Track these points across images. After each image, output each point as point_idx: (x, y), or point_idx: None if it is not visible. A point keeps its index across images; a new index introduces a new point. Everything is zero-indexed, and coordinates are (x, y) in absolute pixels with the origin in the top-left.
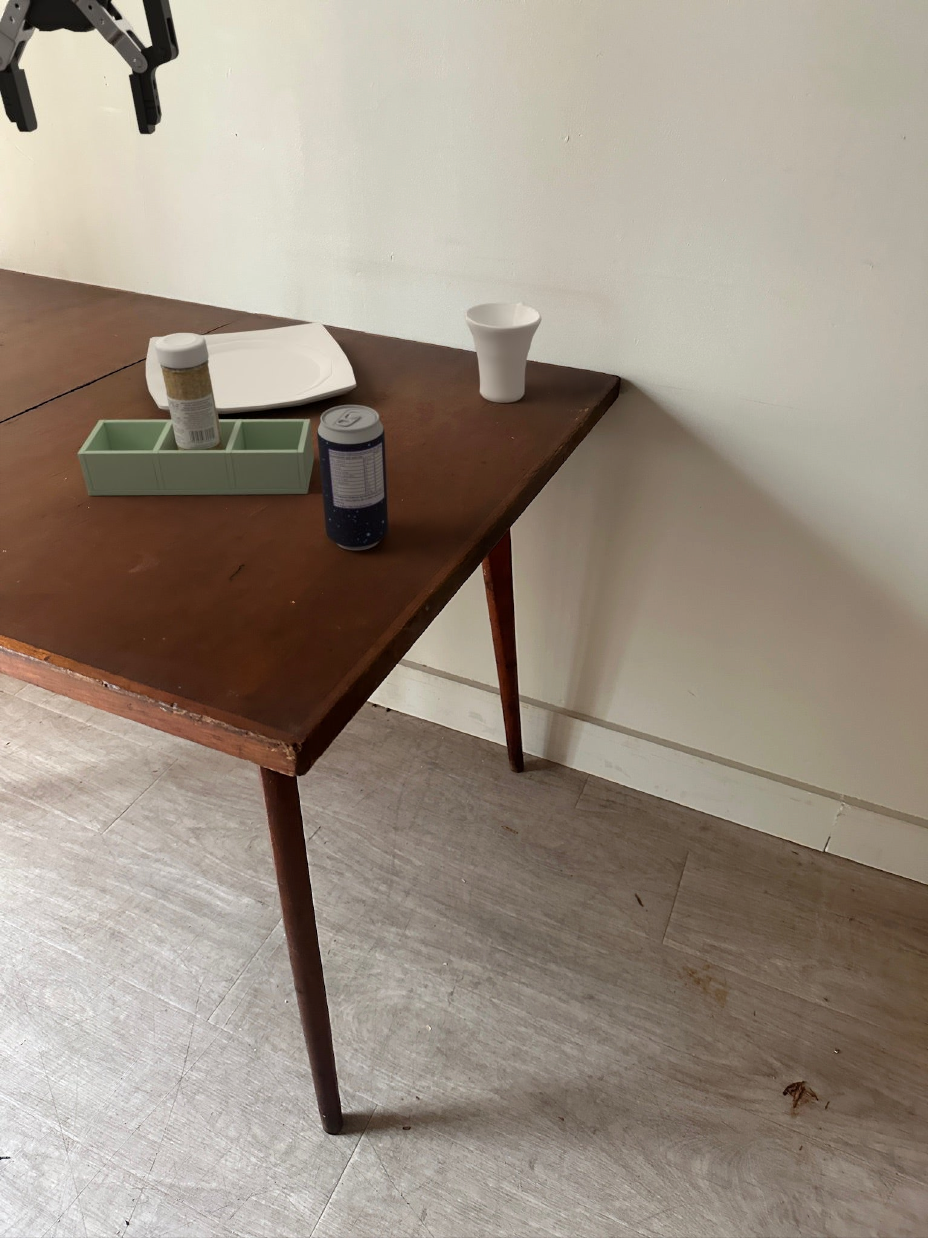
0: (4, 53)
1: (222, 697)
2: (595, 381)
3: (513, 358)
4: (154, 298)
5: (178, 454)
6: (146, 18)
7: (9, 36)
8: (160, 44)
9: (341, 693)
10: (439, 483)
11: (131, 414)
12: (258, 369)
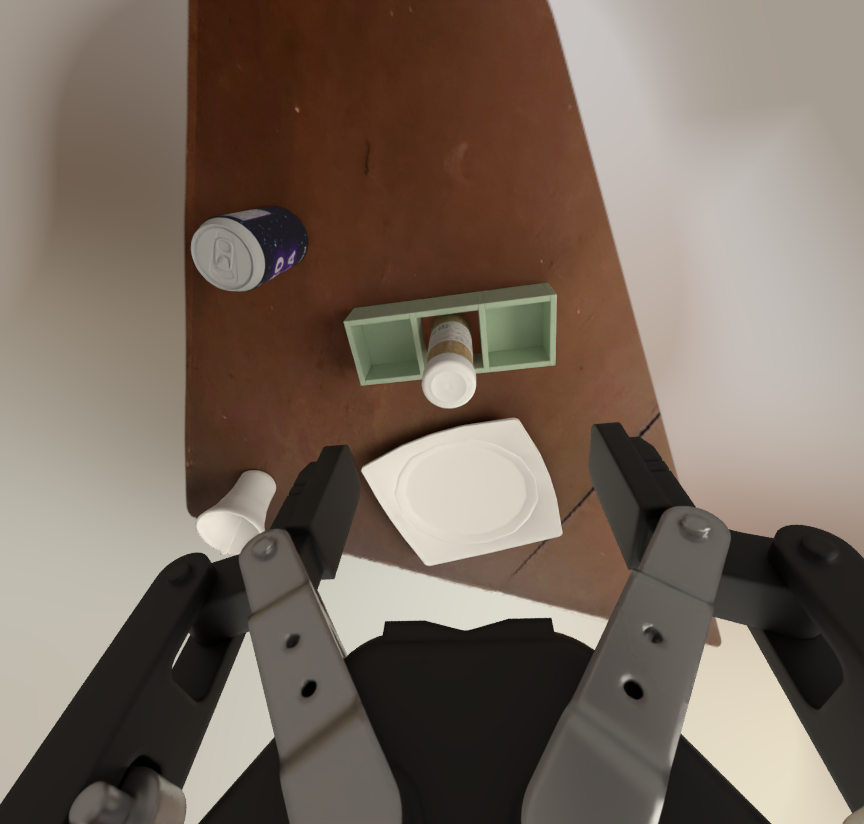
0: (672, 542)
1: None
2: (198, 506)
3: (227, 495)
4: (586, 610)
5: (458, 306)
6: (153, 665)
7: (657, 580)
8: (171, 593)
9: None
10: (252, 338)
11: (551, 428)
12: (461, 502)
